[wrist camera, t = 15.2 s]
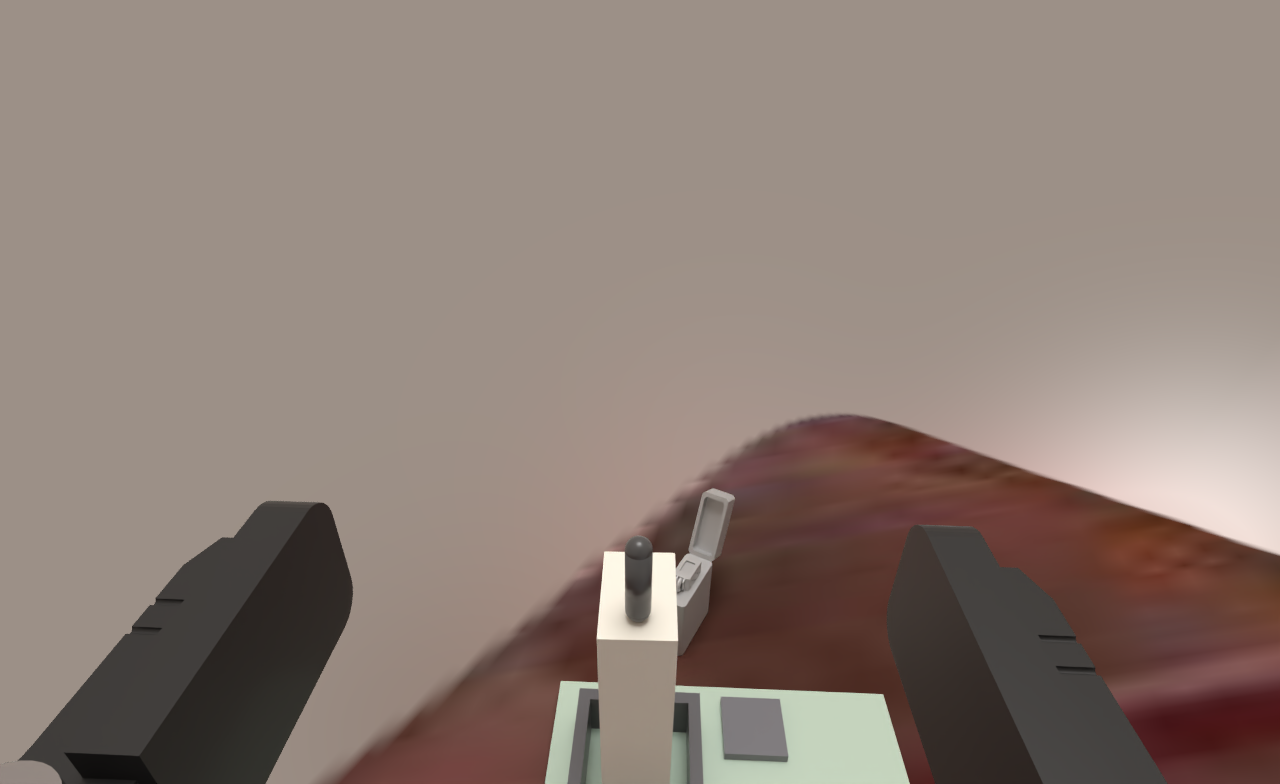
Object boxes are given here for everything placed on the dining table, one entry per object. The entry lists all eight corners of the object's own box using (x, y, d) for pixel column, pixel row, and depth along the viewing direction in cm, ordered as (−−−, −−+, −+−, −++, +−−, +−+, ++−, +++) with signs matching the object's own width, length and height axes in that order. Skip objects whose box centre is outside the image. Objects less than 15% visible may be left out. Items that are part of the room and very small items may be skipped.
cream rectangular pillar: (665, 734, 36) (678, 479, 27) (667, 826, 32) (682, 562, 23) (608, 733, 36) (602, 477, 27) (603, 824, 32) (593, 560, 23)
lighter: (681, 657, 41) (687, 561, 37) (656, 645, 42) (659, 549, 38) (726, 580, 46) (736, 488, 42) (703, 570, 47) (710, 480, 43)
